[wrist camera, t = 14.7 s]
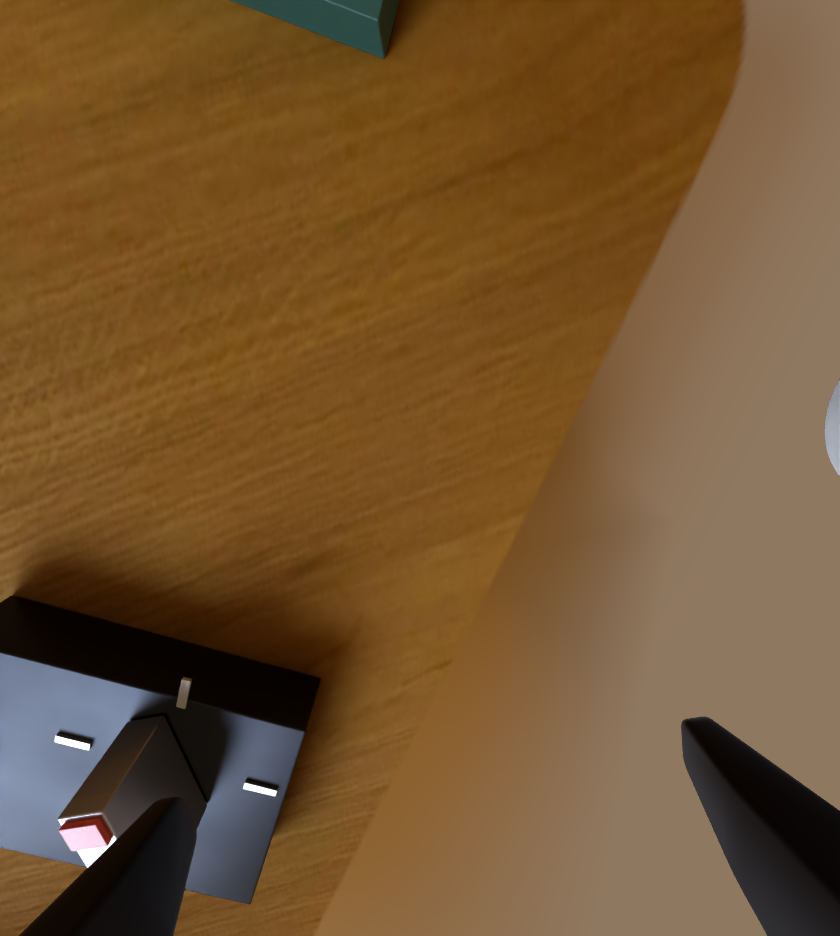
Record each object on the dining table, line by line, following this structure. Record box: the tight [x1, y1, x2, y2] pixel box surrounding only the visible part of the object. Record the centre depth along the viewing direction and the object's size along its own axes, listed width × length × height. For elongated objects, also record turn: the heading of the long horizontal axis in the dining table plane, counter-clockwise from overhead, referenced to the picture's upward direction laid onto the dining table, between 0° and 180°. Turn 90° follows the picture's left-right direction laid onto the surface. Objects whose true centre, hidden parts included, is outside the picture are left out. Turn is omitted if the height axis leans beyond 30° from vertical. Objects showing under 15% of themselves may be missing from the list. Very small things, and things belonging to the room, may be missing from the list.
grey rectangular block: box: [58, 716, 207, 868], centre depth 19 cm, size 5×2×4 cm, turn 13°
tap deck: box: [0, 596, 321, 904], centre depth 22 cm, size 14×12×3 cm
